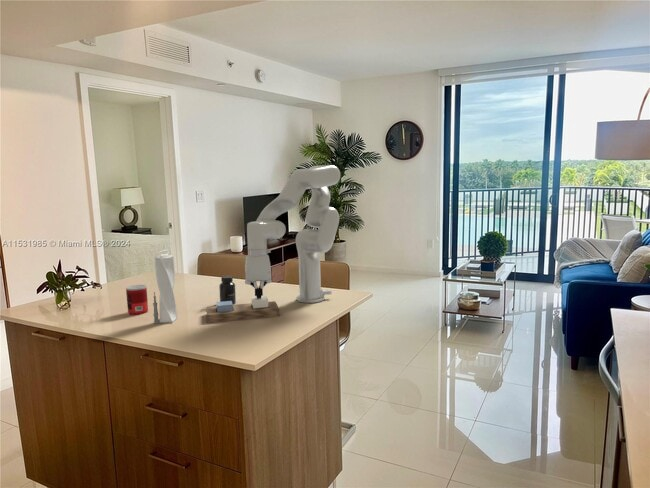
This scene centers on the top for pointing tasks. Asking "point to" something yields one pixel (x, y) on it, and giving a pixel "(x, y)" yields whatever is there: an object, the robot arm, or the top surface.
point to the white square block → (260, 302)
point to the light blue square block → (224, 306)
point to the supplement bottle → (227, 289)
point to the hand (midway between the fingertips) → (258, 297)
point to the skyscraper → (165, 289)
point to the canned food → (137, 299)
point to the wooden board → (242, 312)
